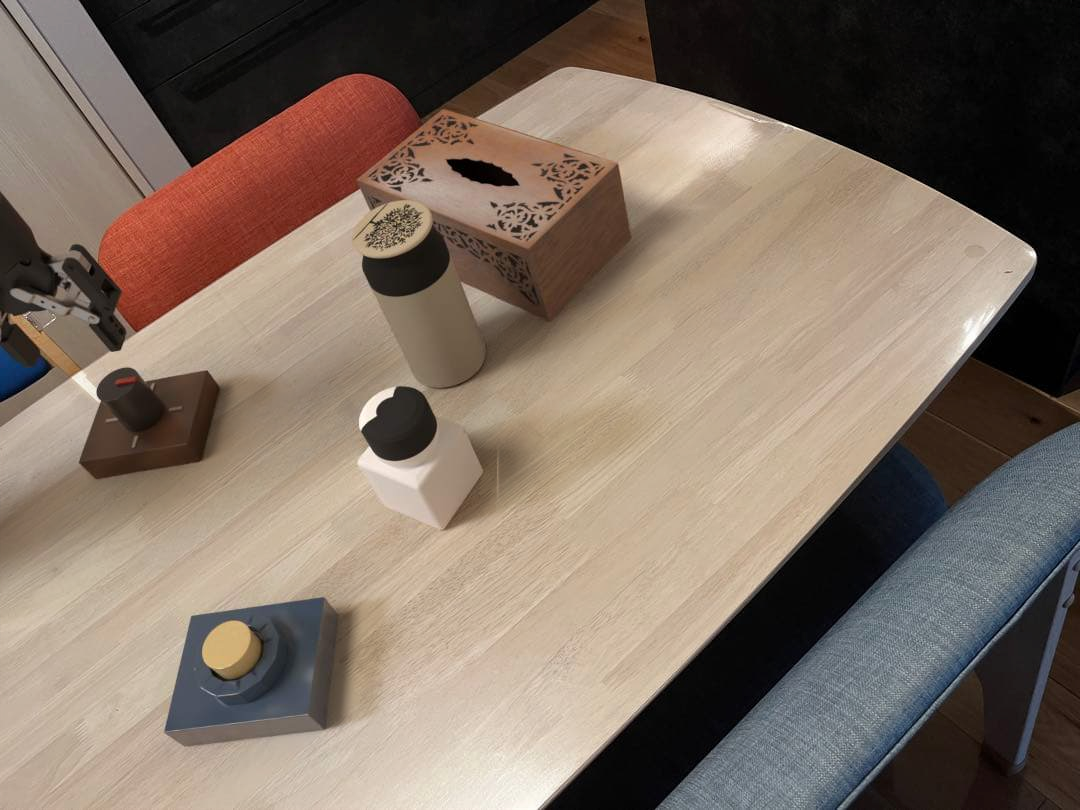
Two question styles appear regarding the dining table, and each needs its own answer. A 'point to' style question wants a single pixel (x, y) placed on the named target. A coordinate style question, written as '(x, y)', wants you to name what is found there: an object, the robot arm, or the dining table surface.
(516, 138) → the tissue box cover
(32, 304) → the robot arm
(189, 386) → the dial panel
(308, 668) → the button housing
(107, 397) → the dial
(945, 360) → the dining table surface
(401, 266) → the travel mug
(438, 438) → the medicine bottle
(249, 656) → the tan button cap
